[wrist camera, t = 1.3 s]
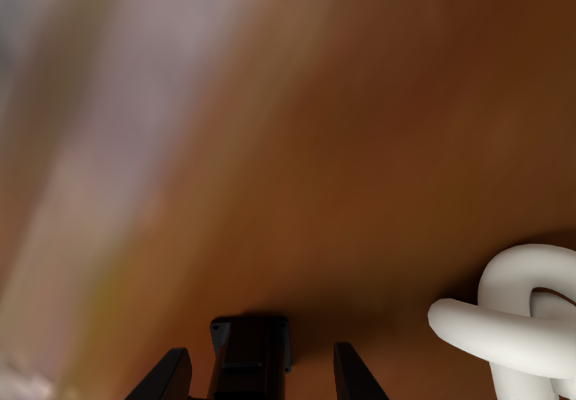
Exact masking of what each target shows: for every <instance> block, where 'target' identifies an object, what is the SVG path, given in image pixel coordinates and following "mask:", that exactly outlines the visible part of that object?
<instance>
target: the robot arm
mask: <svg viewBox="0 0 576 400" xmlns="http://www.w3.org/2000/svg"><path fill="white" fill-rule="evenodd" d="M282 323H283V324H282ZM215 325H217V326H215ZM210 332H211V336H212V341H213V346H214V351H215V355H216V360H215V365H214V369H213V373H212V377H211V381H210V386H209V390H208V394H207V398H206V399H203V398H192V397H191V396H188V394H189V388H190V383H191V377H192V365H191V361H190V357H189V354H188V350H187V349H186V348H184V347H180V348H172V349H170V350H169V351H168V352H167V353H166V354H165V355H164V356H163V358H162V359H161V360H160V361H159V362H158V363H157V364H156V365H155V366H154V367H153V369H152V370H151V371H150V372H149V373H148V374H147V375H146V376H145V377H144V378H143V380H142V381H141V382H140V383H139V384H138V385H137V386H136V387H135V388H134V389H133V390H132V392H131V393H130V394H129V395H128V396H127V397H126V398H125V399H124V400H285V374H287V373H290V372H291V354H290V338H289V322H288V319H287V318H286V317H263V318H237V319H215V320H212V321H211V324H210ZM334 374H335V383H336V392H337V400H390V399H389V398H388V396H387V395H386V393H385V392H384V391H383V389H382V388H381V386H380V385H379V383H378V382H377V381H376V379H375V378H374V376H373V375H372V373H371V372H370V371H369V369H368V368H367V366H366V365H365V363H364V362H363V361H362V359H361V358H360V356H359V355H358V353H357V352H356V351H355V349H354V348H353V346H352V345H351V344H350V343H349V342H347V341H343V342H335V343H334Z"/></svg>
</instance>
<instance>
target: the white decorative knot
mask: <svg viewBox="0 0 576 400" xmlns="http://www.w3.org/2000/svg"><path fill="white" fill-rule="evenodd" d="M536 287H545V288H548V289H552V290H554V291H557V292H559V293H561V294H563V295H565V296H566V297H568V298H569V299H571V300H573V301H574V302H575V303H576V251H573V250H570V249H567V248H563V247H558V246H553V245H548V244H525V245H519V246H514V247H511V248H509V249H506V250H503V251H502V252H500V253H499V254H497V255H496V256H495V257H494V258H493V259H492V260H491V261H490V262H489V263H488V265H487V267H486V268H485V270H484V272H483V275H482V277H481V279H480V283H479V287H478V306H476V305H472V304H468V303H465V302H461V301H458V300H455V299H439V300H438V301H436V302H435V303H433V304H432V305H431V307H430V309H429V312H428V320H429V325H430V326H431V328H432V329H433V330H434V332H435V333H436V334H437V335H438V337H440V338H441V339H443V340H444V341H446V342H448V343H450V344H451V345H453V346H455V347H457V348H460V349H462V350H464V351H466V352H468V353H470V354H472V355H475V356H477V357H479V358H482V359H484V360H487V361H489V363H490V367H491V371H492V376H493V381H494V386H495V391H496V395H497V399H498V400H559V395H561V396H564V397H566V398H568V399H571V400H576V306H574V305H573V304H571V303H569V302H568V301H566V300H564V299H563V298H561V297H559V296H557V295H554V294H551V293H544V292H542V293H541V292H532V293H531V291H532V289H533V288H536Z"/></svg>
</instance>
